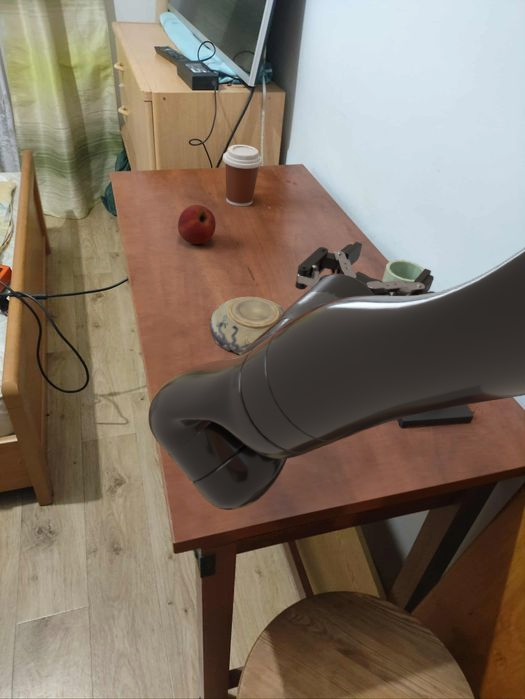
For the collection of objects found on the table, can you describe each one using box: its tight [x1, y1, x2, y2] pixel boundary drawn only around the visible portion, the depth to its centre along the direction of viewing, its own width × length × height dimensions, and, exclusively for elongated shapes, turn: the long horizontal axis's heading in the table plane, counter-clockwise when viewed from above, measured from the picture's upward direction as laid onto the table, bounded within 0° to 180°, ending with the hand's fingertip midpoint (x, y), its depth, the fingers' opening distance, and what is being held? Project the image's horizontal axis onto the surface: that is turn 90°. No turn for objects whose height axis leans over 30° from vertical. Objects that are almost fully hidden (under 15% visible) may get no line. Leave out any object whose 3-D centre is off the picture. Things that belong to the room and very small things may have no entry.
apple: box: [177, 204, 217, 245], centre depth 103 cm, size 7×8×8 cm
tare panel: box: [397, 405, 475, 428], centre depth 75 cm, size 11×9×3 cm
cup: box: [381, 259, 425, 296], centre depth 83 cm, size 6×6×10 cm
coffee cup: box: [222, 144, 263, 207], centre depth 119 cm, size 9×9×12 cm
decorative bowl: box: [209, 295, 286, 356], centre depth 84 cm, size 15×4×15 cm
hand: (391, 262), depth 59 cm, fingers open, 8 cm apart
